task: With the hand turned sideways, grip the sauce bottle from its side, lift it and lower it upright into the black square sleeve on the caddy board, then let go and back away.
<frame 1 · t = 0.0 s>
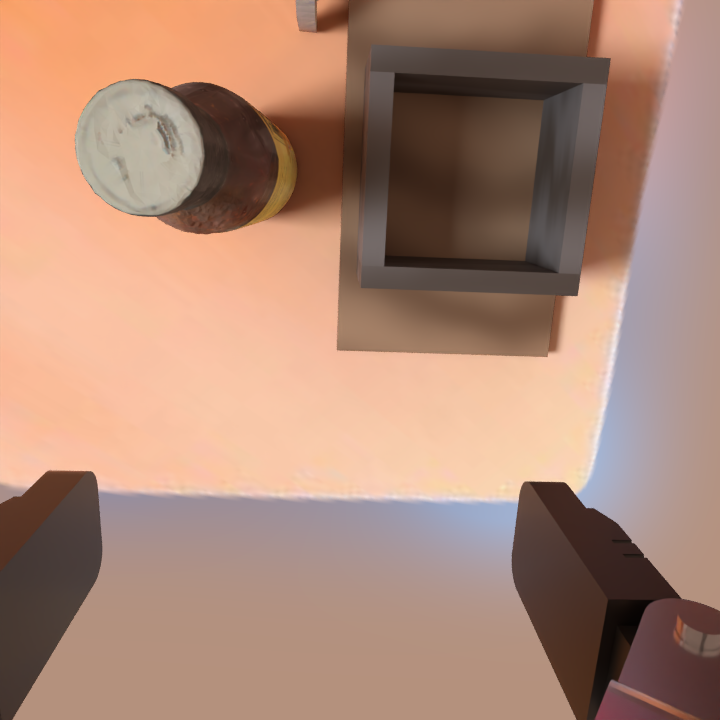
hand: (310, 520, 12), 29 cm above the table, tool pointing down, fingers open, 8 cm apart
bottle caddy: (454, 180, 38), on the table
sauce bottle: (245, 170, 38), on the table
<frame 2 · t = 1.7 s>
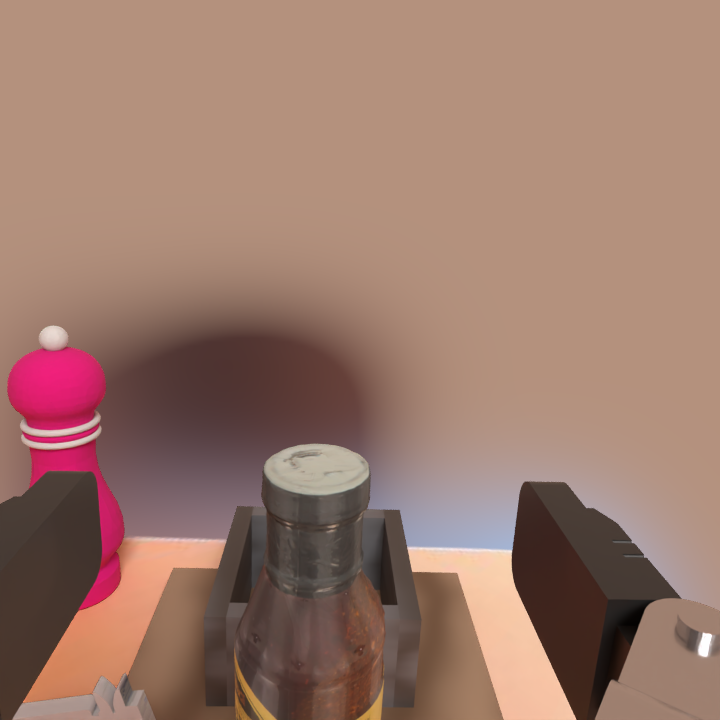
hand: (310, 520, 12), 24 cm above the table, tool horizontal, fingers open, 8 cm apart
bottle caddy: (313, 646, 41), on the table
pepper mill: (76, 588, 46), on the table
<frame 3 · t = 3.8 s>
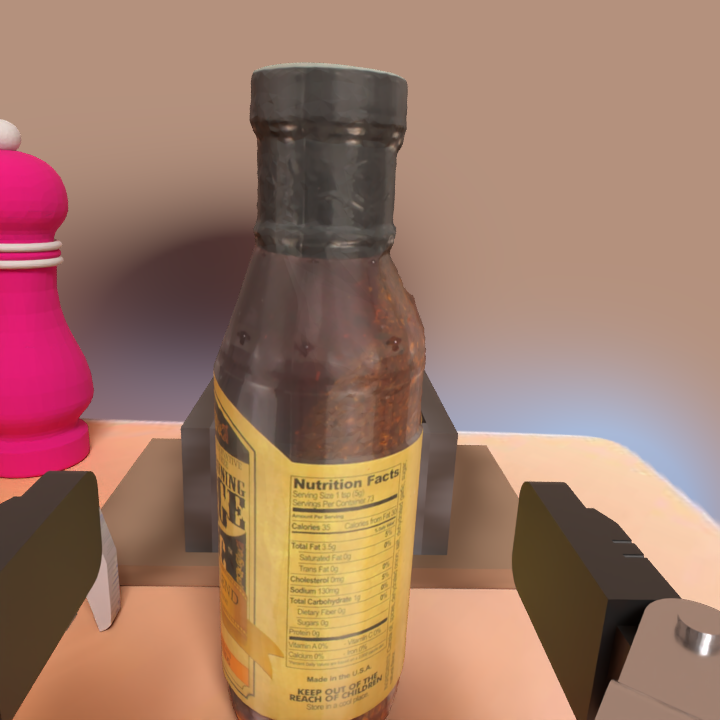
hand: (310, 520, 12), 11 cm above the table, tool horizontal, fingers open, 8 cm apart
bottle caddy: (319, 508, 34), on the table
sauce bottle: (312, 698, 21), on the table
pepper mill: (36, 460, 39), on the table
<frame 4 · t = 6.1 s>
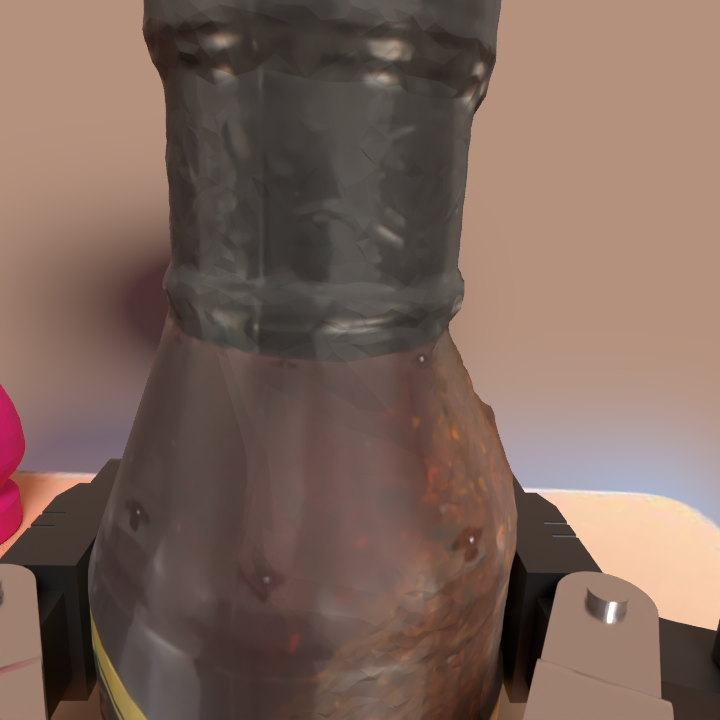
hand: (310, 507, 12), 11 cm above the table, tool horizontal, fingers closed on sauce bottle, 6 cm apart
bottle caddy: (313, 618, 25), on the table
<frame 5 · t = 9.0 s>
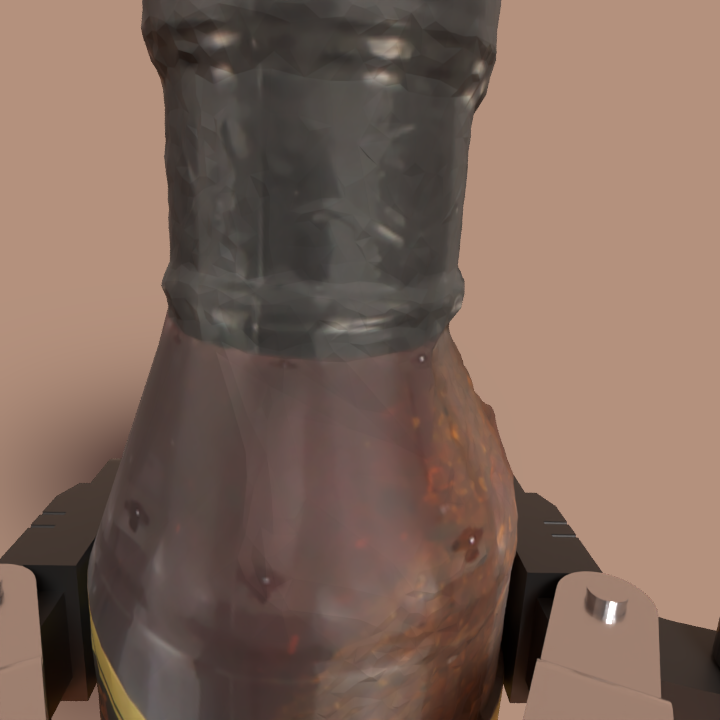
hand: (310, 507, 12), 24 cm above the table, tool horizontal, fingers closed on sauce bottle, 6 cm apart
when the fingers open (13 cm above the table, at t = 12.2 s): sauce bottle drops 1 cm, resting on bottle caddy.
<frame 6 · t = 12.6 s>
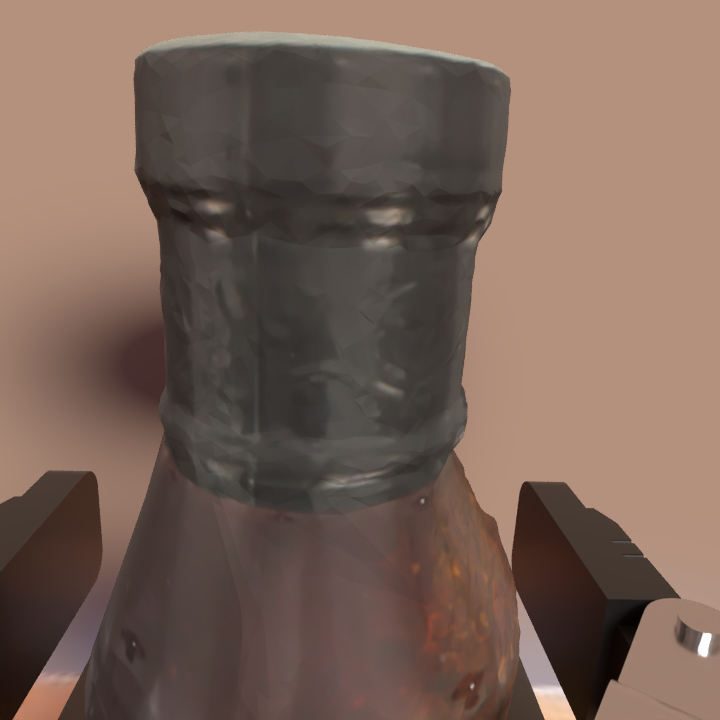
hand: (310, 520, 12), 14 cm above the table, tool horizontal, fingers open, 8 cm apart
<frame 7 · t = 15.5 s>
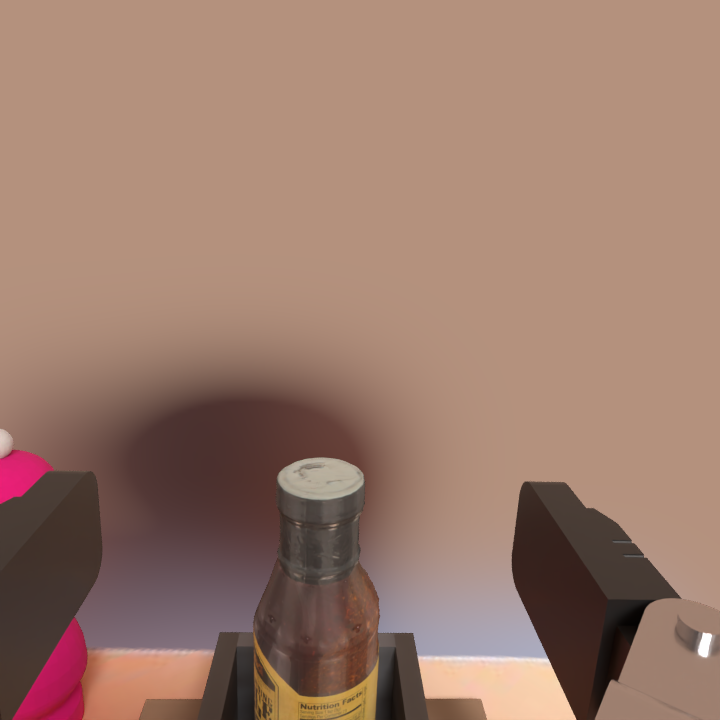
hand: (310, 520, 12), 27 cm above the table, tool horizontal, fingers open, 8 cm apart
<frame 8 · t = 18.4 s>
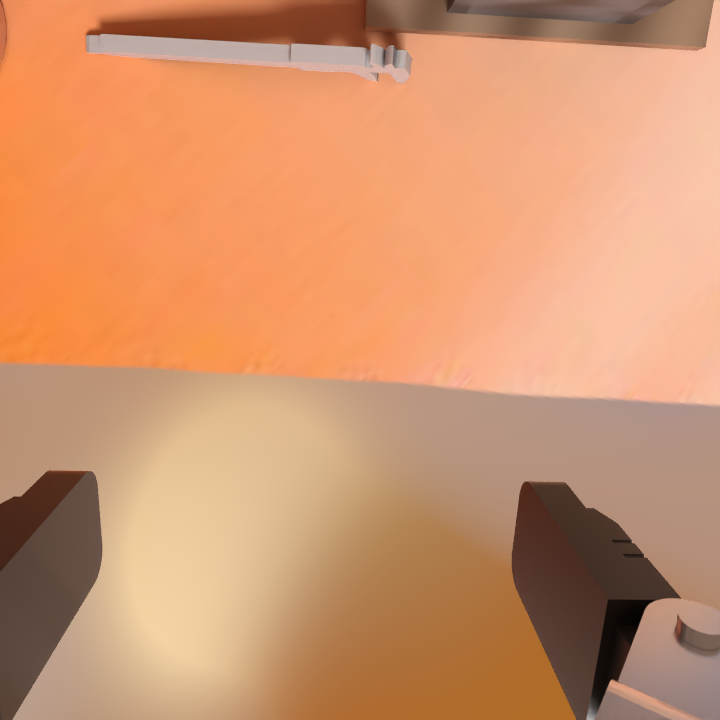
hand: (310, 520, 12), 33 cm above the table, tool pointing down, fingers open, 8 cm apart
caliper: (249, 61, 40), on the table
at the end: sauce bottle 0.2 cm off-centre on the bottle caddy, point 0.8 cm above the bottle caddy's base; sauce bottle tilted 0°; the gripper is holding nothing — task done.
